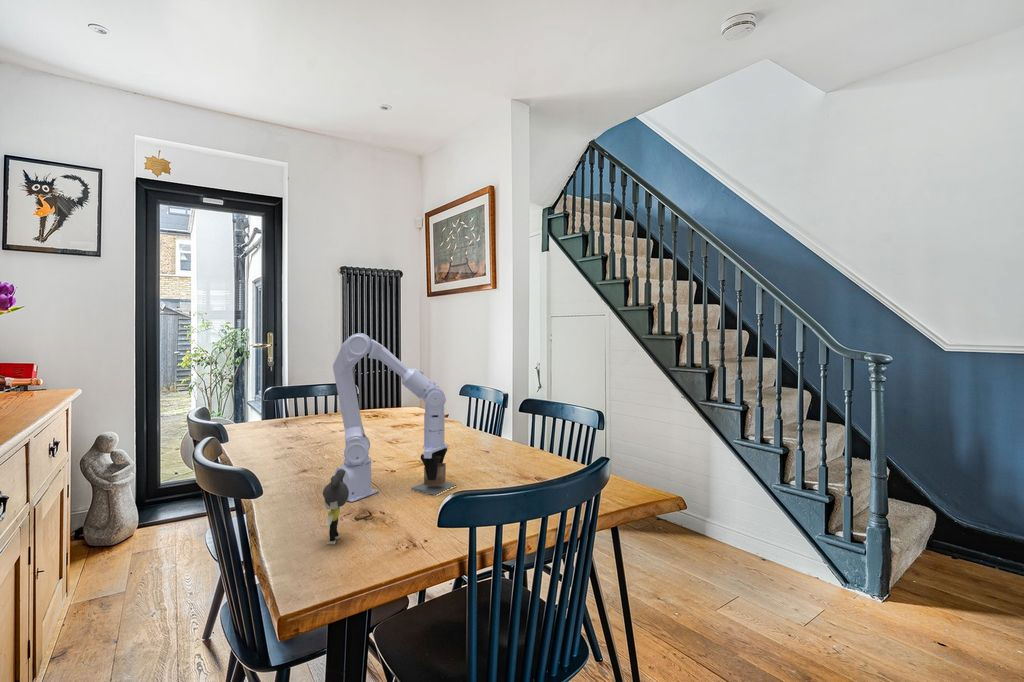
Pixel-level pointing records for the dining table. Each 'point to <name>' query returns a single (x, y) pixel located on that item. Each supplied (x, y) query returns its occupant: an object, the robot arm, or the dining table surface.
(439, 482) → the walnut block
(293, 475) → the dining table surface
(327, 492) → the toy
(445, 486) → the slate coaster
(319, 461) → the dining table surface
